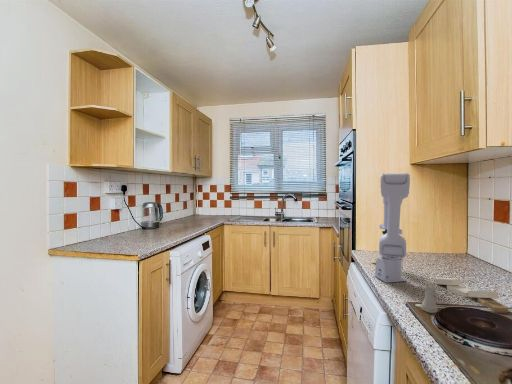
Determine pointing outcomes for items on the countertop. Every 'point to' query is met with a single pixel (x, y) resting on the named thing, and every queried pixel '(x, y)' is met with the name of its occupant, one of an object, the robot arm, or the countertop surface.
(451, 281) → the domino
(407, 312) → the countertop surface
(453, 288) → the domino
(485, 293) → the domino
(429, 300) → the rook chess piece
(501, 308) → the domino
